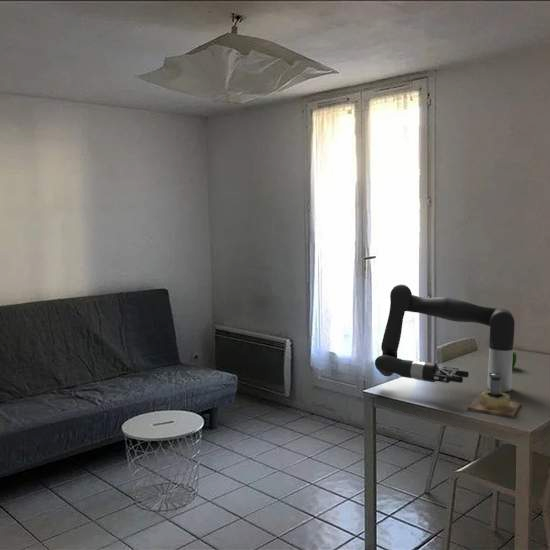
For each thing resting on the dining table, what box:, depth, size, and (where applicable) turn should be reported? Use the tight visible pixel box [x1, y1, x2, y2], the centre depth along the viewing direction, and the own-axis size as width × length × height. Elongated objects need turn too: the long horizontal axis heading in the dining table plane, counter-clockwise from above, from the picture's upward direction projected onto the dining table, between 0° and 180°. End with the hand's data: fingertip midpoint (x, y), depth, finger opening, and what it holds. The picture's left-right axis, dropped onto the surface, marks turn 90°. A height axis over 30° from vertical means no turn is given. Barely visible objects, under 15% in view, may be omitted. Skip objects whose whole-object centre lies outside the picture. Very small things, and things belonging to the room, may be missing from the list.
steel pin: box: [489, 372, 503, 397], centre depth 223 cm, size 5×5×12 cm
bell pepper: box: [512, 351, 517, 370], centre depth 279 cm, size 8×8×10 cm
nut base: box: [467, 390, 522, 419], centre depth 224 cm, size 16×16×5 cm
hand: (465, 377), depth 229 cm, fingers open, 8 cm apart
